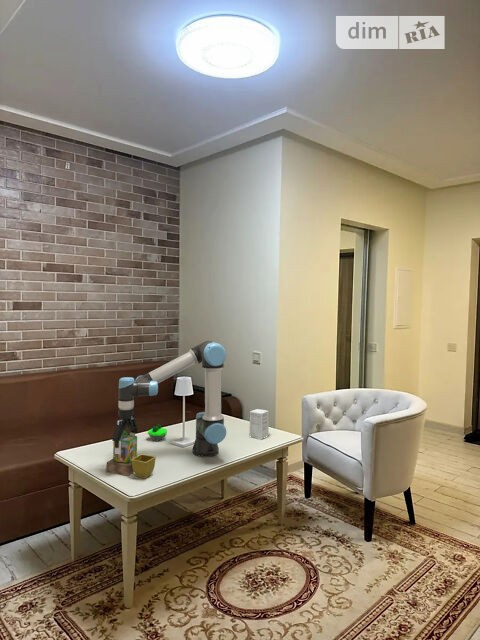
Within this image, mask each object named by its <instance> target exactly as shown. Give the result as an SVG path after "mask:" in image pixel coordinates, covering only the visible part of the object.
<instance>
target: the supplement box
mask: <svg viewBox="0 0 480 640" xmlns="http://www.w3.org/2000/svg"><path fill="white" fill-rule="evenodd" d="M269 416H270V411H269V410H266V409H260V408H259V409H258V408H256V409H253V410H250V411H249V435H248V437H249V436H251V437H250V438H252V437H256V438H260V439H259V440H261V439H262V438H264V437H266V436H268V437H269V430H270V429H269V425H270V424H269V422H270V421H269V420H270V419H269V418H270V417H269ZM256 438H255V439H256ZM266 438H267V437H266ZM264 439H265V438H264ZM262 440H263V439H262Z"/></svg>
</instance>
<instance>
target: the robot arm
mask: <svg viewBox="0 0 480 640" xmlns="http://www.w3.org/2000/svg"><path fill="white" fill-rule="evenodd" d="M225 349H226V348H225V347H223V345H222V344H220V343H218V342H215V341H212V340H206V341H202V342H201V343H199V344H197V345H195V346H193V347H191V348H190V349H189V351H188V352H186V353H184V354H182V355H179V356H178V357H176V358H174V359H172V360H170V361H169V362H167V363H165V364H163V365H161V366H160V367H157V368H155V369H154V370H151V371H150V372H148V373H146V374H144V375H138V376H137V377H136V378H134V377H132V376H131V377H130V376H129V377H128V376H127V377H125V376H124V377H120V378H119V380H118V411H117V416H118V417H119V418H120V419H119V420H116V421H115V427H114V430H113V435H112V438H111V441H112V442H113V441H115V454H121V441H120V438H121V436H122V433H123V431H124V430H126V428H127V427H128V429H129V431H130V432H129V435H132V436H136V434H137V433H138V430H139V427H138V424H137V421H136V415H135V414H134V408H135V407H134V406H135V400H134V399H135V398H134V397H148V396H150V397H153V396H157V395H158V392H159V384H160V383H161V382H164V381H165V380H168V379H169V378H171V377H173V376H175V375H176V374H178V373H181V372H182V371H184V370H186V369H188V368H190V367H192V366H193V365H199V364H201V368H202V369H203V370H204V404H205V405H204V406H205V407H204V411H200V412H198V413H196V417H195V440H194V442H193V445H192V447H191V448H192V449H191V450H192V451H191V452H192V454H193V455H195V456H199V457H203V458H204V457H213V456H216V455H218V454H219V451H220V450H219V448H220V447H219V445H218V444H220V443H222V442H223V441H224V440H225V438H226V437H227V428H226V426H225V417H224V415H223V414H222V370H223V369H224V367H225V366H224V365H225V364H224V362H225V360H226V359H227V352H226V350H225Z"/></svg>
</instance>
